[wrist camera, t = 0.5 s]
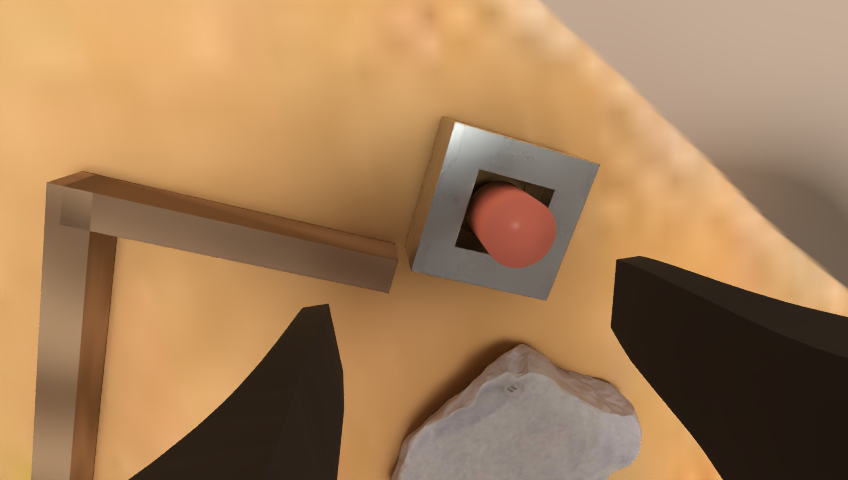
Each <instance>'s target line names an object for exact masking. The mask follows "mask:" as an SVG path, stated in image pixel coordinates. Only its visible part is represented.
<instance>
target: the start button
mask: <svg viewBox="0 0 848 480" xmlns="http://www.w3.org/2000/svg"><path fill="white" fill-rule="evenodd" d="M467 220H468V223H469V226H470V228H471V229H472V231H473V232H474V233H475V235H476V236H477V238H478V239H479V240H480V242H481V243H482V244H483V246H484V247H485V248H486V250H487V251H488V252H489V254H490V255H491V256H492V258H493V259H494V260H495V261H497V262H498V263H500V264H501V265H504V266H507V267H511V268H523V267H527V266H530V265H532V264H534V263H536V262H538V261H539V260H541V259H542V258H543V257H544V256H545V255H546V254H547V253H548V251H549V250H550V248H551V247H552V245H553V242H554V239H555V235H556V224H555V220H554V217H553V215H552V213H551V211H550V210H549V209H548V208H547V207H546V206H545V205H544V204H542V203H541V202H539V201H538V200H536V199H535V198H533V197H532V196H531V195H529V194H528V193H526V192H525V191H523V190H522V189H520V188H519V187H517V186H516V185H514V184H512V183H510V182H506V181H494V182H490V183H487V184H485V185H483V186H482V187H480V188H479V189H478V190H477V191H476V192H475V193H474V194H473V196H472V197H471V199H470V201H469V204H468V208H467Z"/></svg>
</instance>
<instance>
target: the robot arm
mask: <svg viewBox="0 0 848 480" xmlns="http://www.w3.org/2000/svg"><path fill="white" fill-rule="evenodd" d="M611 329H612V330H613V332H614V334H615V336H616V337H617V339H618V341H619V343H620V344H621V346H622V348H623V349H624V351H625V352H626V354H627V355H628V357H629V359H630V360H631V361H632V363H633V364H634V365H635V367H636V368H637V369H638V370H639V372H640V373H641V374H642V375H643V377H644V378H645V379H646V380H647V381H648V383H649V384H650V385H651V386H652V388H653V389H654V390H655V391H656V392H657V394H658V395H659V396H660V397H661V398H662V400H663V401H664V402H665V403H666V404H667V406H668V407H669V408H670V409H671V411H672V412H673V413H674V414H675V415H676V417H677V418H678V419H679V420H680V421H681V423H682V424H683V425H684V426H685V427H686V429H687V430H688V431H689V432H690V434H691V435H692V436H693V438H694V439H695V440H696V441H697V443H698V444H699V445H700V447H701V448H702V449H703V451H704V452H705V454H706V455H707V457H708V458H709V460H710V461H711V463H712V464H713V466H714V467H715V469H716V470H717V472H718V473H719V475H720V476H721V478H722V479H723V480H848V317H845V316H840V315H836V314H832V313H828V312H823V311H819V310H815V309H811V308H807V307H802V306H799V305H795V304H791V303H788V302H784V301H780V300H777V299H774V298H770V297H767V296H764V295H760V294H757V293H754V292H750V291H747V290H744V289H741V288H738V287H735V286H732V285H729V284H726V283H723V282H720V281H717V280H714V279H711V278H708V277H705V276H702V275H699V274H696V273H694V272H691V271H688V270H685V269H682V268H679V267H676V266H673V265H670V264H667V263H664V262H661V261H657V260H654V259H650V258H646V257H642V256H637V257H630V258H624V259H617V260H616V272H615V284H614V295H613V307H612V319H611ZM343 415H344V386H343V369H342V364H341V360H340V355H339V350H338V346H337V341H336V336H335V332H334V327H333V322H332V318H331V313H330V308H329V304H324V305H317V306H311V307H304V308H302V309H301V311H300V312H299V313H298V314H297V316H296V317H295V318H294V320H293V321H292V322H291V324H290V325H289V326H288V328H287V329H286V330H285V332H284V333H283V334H282V336H281V337H280V338H279V340H278V341H277V342H276V343H275V345H274V346H273V347H272V348H271V350H270V351H269V352H268V353H267V355H266V356H265V357H264V358H263V360H262V361H261V362H260V363H259V364H258V366H257V367H256V368H255V369H254V370H253V371H252V372H251V373H250V375H249V376H248V377H247V378H246V379H245V380H244V381H243V382H242V384H241V385H240V386H239V387H238V388H237V389H236V390H235V391H234V392H233V393H232V394H231V395H230V396H229V397H228V398H227V399H226V400H225V401H224V402H223V403H222V404H221V405H220V406H219V407H218V408H217V409H216V410H215V411H214V412H212V413H211V414H210V415H209V416H208V417H207V418H206V419H205V420H204V421H203V422H202V423H200V424H199V425H198V426H197V427H196V428H195V429H193V430H192V431H191V432H190V433H188V434H187V435H186V436H185V437H184V438H182V439H181V440H180V441H179V442H177V443H176V444H175V445H174V446H172V447H171V448H170V449H169V450H167V451H166V452H165V453H164V454H162V455H161V456H160V457H159V458H158V459H156V460H155V461H154V462H152V463H151V464H150V465H148V466H147V467H145V468H144V469H143V470H141V471H140V472H139V473H137V474H136V475H134V476H133V477H132V478H130V479H129V480H337V474H338V464H339V455H340V445H341V435H342V425H343Z"/></svg>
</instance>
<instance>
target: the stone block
mask: <svg viewBox="0 0 848 480" xmlns="http://www.w3.org/2000/svg"><path fill="white" fill-rule="evenodd" d="M641 434H642V431H641V427H640V423H639V420H638V417H637V415H636V412H635V410H634V407H633V405H632V404H631V403H630V402H629V401H628V400H627V399H626V398H625V397H624V396H623V395H622V394H621V393H620V392H619V391H618V390H617V389H616V388H615V387H614V386H613V385H611V384H609V383H607V382H604V381H602V380H599V379H595V378H592V377H590V376H587V375H581V374H579V373H576V372H573V371H564V370H562V369H560V368H558V367H556V366H555V365H554V364H553V363H552V362H550V361H549V360H548V359H547V358H546V357H545V356H544V355H543V354H541V353H540V352H538V351H536V350H534V349H532V348H531V347H530V346H528V345H525V344H520V345H517V346H516V347H515V348H513V349H512V350H510V351H508V352H506V353H504V354H503V355H501V356H500V357H498V358H497V359H496V360H495V361H494V362H493V363H492V364H490V365H489V366H487V367H486V368H485V370H484V371H483V372H482V374H481V375H479V376H478V377H477V378H476V379H474V380H473V381H472V382H471V384H470V385H469V386H468V387H467V388H466V389H464V390H463V391H461V392H460V393H459V394H458V395H455V396H454V397H452V398H449V399H448V400H447V401H446V402H445V403H444V404H443V405H442V406H441V407H440V408H439V409H438V410H437V411H436V412H434V413H433V414H432V415H430V416H429V417H428V418H427V419H426V420H425V421H424V423H423V424H422V425H420V426H419V427H418V428H417V429H416V430H414V431H413V432H412V433H410V434H409V435H408V436H407V437H406V438H405V439H404V441H403V443H402V447H401V450H400V454H399V459H398V462H397V465H396V468H395V471H394V473H393V474H392V476H391V480H607V478H608V477H609V475H610V474H611V473H613V472H615V471H617V470H620V469H622V468H624V467H626V466H629V465H630V464H631V463H632V462H633V461H634V460H635V459H636V457H637V456H638V454H639V452H640V446H641Z"/></svg>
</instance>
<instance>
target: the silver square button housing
mask: <svg viewBox="0 0 848 480" xmlns="http://www.w3.org/2000/svg"><path fill="white" fill-rule="evenodd" d="M599 166H600V164H597V163H594V162H591V161H588V160H585V159H582V158H579V157H577V156H574V155H571V154H568V153H564V152H561V151H558V150H554V149H551V148H548V147H544V146H541V145H537V144H534V143H531V142H527V141H524V140H520V139H517V138H514V137H510V136H507V135H503V134H500V133H497V132H493V131H490V130H486V129H483V128H480V127H476V126H473V125H469V124H466V123H463V122H459V121H456V120H452V119H449V118H446V117H442V119H441V123H440V126H439V129H438V133H437V136H436V140H435V143H434V147H433V150H432V154H431V157H430V161H429V164H428V168H427V171H426V175H425V178H424V182H423V185H422V188H421V192H420V195H419V199H418V202H417V206H416V209H415V213H414V216H413V220H412V223H411V227H410V230H409V234H408V237H407V241H406V244H405V248H406V252H407V256H408V260H409V264H410V268H411V271H414V272H419V273H423V274H428V275H432V276H437V277H441V278H446V279H450V280H455V281H459V282H464V283H469V284H473V285H478V286H482V287H487V288H491V289H496V290H500V291H505V292H509V293H514V294H519V295H523V296H528V297H532V298H537V299H541V300H547V298H548V295H549V293H550V290H551V288H552V285H553V282H554V280H555V277H556V275H557V272H558V270H559V267H560V265H561V262H562V260H563V257H564V255H565V252H566V249H567V247H568V244H569V242H570V239H571V237H572V234H573V232H574V229H575V227H576V224H577V222H578V219H579V217H580V214H581V211H582V209H583V206H584V204H585V201H586V199H587V196H588V194H589V191H590V189H591V186H592V184H593V181H594V179H595V176H596V173H597V171H598V168H599ZM479 169H481V170H485V171H488V172H492V173H495V174H499V175H503V176H506V177H510V178H514V179H517V180H521V181H525V182H527V183H526V186H525V189H524V191H525V192H526V193H528V194H529V195H531V196H532V197H533V198H535V199H536V200H538V201H539V202H541V203H542V204H544V205H545V206H546V207H547V208H548V209H549V210H550V211H551V213H552V215H553V217H554V220H555V224H556V235H555V239H554V242H553V245H552V247H551V248H550V250H549V251H548V253H547V254H546V255H545V256H544V257H543V258H542V259H541V260H539V261H538V262H536V263H534V264H532V265H530V266H527V267H523V268H511V267H507V266H504V265H501V264H500V263H498V262H497V261H495V260H494V259H493V258H492V256H491V255H490V254H489V252H488V251H487V250H486V248H485V247H484V246H483V244H482V243H481V242H480V240H479V239H478V238H477V236H476V235H475V233H474V232H470V231H466V230H462V229H460V228H461V225H462V222H463V219H464V215H465V212H466V209H467V206H468V203H469V200H470V197H471V194H472V190H473V187H474V184H475V181H476V178H477V175H478V172H479Z"/></svg>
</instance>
